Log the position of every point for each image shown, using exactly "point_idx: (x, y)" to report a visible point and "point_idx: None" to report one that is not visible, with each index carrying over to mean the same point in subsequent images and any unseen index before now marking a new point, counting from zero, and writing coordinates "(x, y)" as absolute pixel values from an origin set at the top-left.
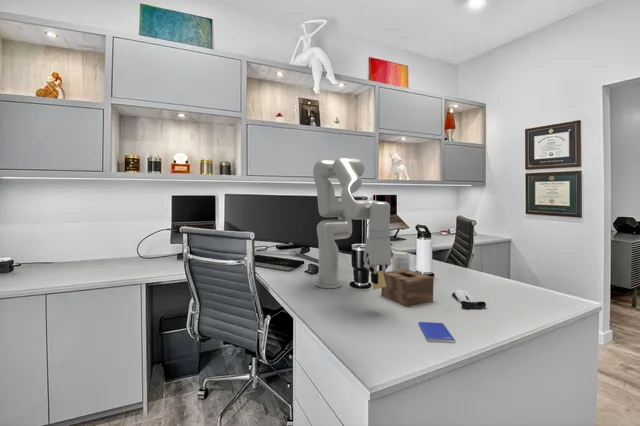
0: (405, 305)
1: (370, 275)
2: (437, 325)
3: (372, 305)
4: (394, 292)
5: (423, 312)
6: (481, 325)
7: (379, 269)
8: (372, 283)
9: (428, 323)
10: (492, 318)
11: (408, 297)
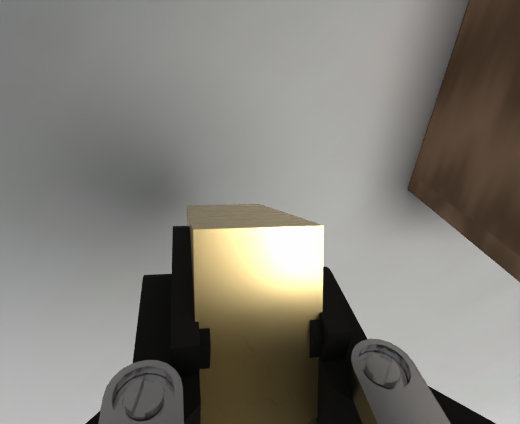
0: (413, 174)
1: (192, 237)
2: None
3: (243, 50)
4: (496, 75)
5: (390, 276)
6: None
7: (344, 403)
8: (188, 221)
9: None
10: (498, 382)
11: (447, 217)
